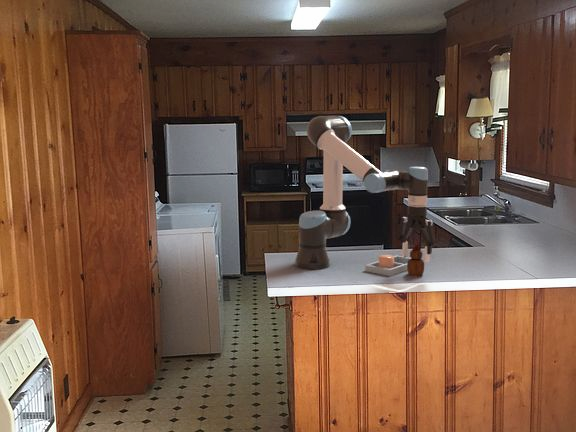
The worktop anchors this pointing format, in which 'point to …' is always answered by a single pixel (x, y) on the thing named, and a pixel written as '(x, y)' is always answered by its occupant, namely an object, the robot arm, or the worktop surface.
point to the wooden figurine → (416, 261)
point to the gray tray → (399, 267)
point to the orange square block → (386, 261)
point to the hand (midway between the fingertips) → (415, 259)
